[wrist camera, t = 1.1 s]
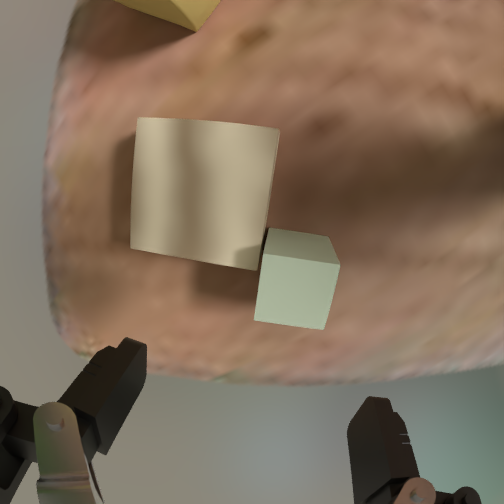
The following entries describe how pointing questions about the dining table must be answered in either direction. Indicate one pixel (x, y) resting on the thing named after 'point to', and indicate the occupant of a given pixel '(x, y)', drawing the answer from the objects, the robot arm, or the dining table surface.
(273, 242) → the block
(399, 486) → the robot arm
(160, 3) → the cheese
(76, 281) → the dining table surface
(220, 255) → the birch box
